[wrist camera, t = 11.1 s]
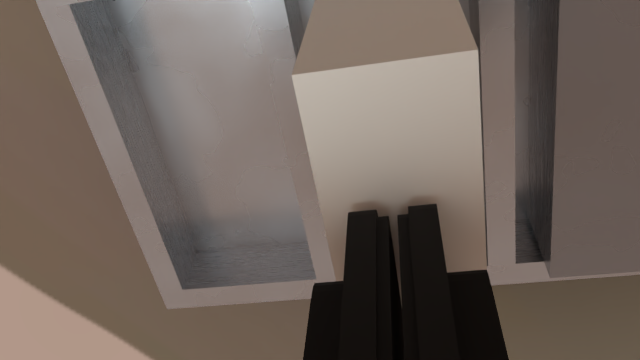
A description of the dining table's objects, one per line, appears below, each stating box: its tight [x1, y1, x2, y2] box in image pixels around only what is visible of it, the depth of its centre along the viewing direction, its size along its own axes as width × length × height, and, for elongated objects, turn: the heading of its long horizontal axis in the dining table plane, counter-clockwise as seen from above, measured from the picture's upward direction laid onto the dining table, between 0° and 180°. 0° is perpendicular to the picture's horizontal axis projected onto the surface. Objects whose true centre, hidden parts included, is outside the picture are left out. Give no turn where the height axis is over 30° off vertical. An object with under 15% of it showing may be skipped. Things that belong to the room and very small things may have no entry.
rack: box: [36, 0, 640, 309], centre depth 17 cm, size 17×11×4 cm
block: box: [292, 0, 487, 305], centre depth 15 cm, size 3×8×7 cm, turn 10°
